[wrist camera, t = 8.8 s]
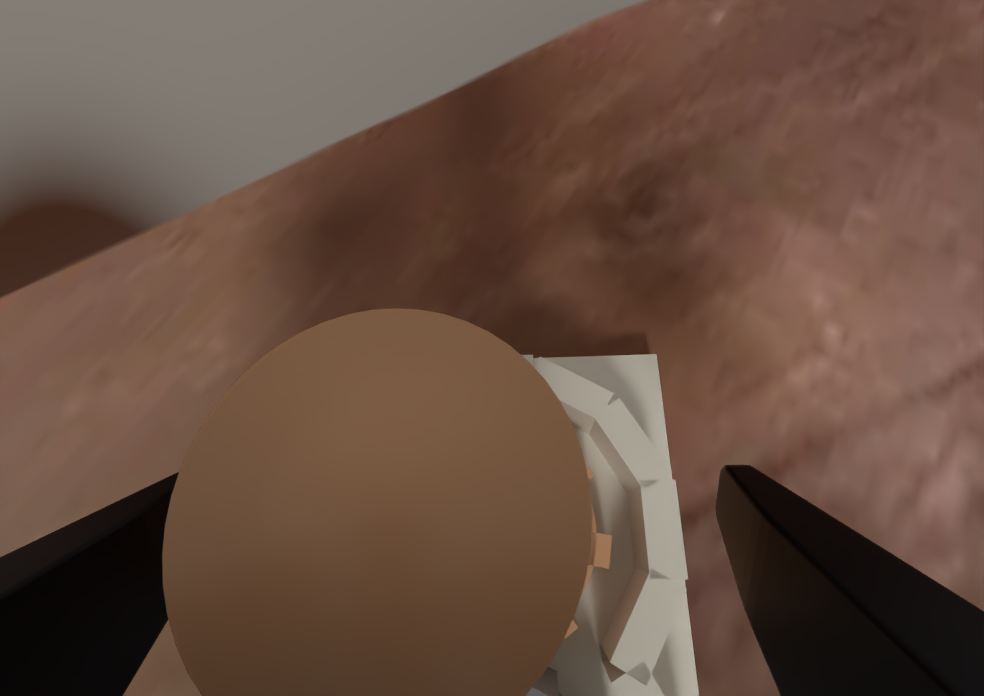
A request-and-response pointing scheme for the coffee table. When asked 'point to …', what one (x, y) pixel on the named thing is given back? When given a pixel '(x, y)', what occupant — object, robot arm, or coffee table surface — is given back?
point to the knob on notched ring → (380, 518)
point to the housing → (624, 537)
